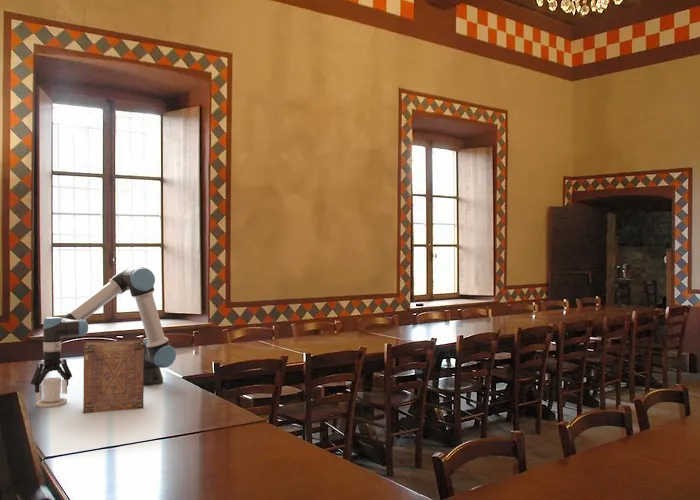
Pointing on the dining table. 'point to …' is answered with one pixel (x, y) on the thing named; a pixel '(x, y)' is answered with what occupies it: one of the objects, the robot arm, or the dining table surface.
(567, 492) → the dining table surface
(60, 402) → the beige saucer
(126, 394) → the book
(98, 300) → the robot arm
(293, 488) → the dining table surface
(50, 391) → the white cup
